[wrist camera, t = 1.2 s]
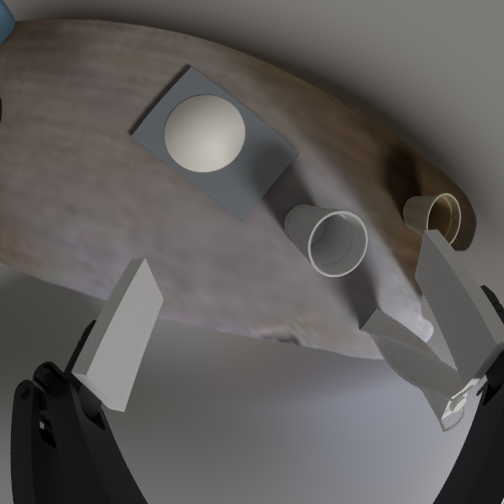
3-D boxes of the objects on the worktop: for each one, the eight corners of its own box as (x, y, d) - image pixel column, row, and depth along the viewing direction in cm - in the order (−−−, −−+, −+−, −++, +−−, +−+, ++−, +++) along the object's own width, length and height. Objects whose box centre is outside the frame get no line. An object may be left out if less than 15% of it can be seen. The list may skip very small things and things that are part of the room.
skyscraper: (372, 345, 54) (453, 434, 27) (351, 334, 51) (437, 432, 25) (395, 315, 53) (487, 394, 26) (376, 301, 50) (477, 387, 24)
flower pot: (392, 237, 47) (423, 250, 39) (397, 185, 44) (429, 190, 36) (426, 236, 49) (456, 248, 41) (431, 189, 46) (463, 195, 38)
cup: (294, 189, 42) (329, 198, 30) (335, 213, 44) (377, 229, 32) (269, 236, 43) (295, 261, 32) (311, 257, 45) (347, 286, 34)
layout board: (132, 138, 35) (130, 137, 34) (191, 69, 34) (191, 66, 32) (241, 220, 41) (242, 222, 40) (296, 153, 40) (299, 152, 39)
